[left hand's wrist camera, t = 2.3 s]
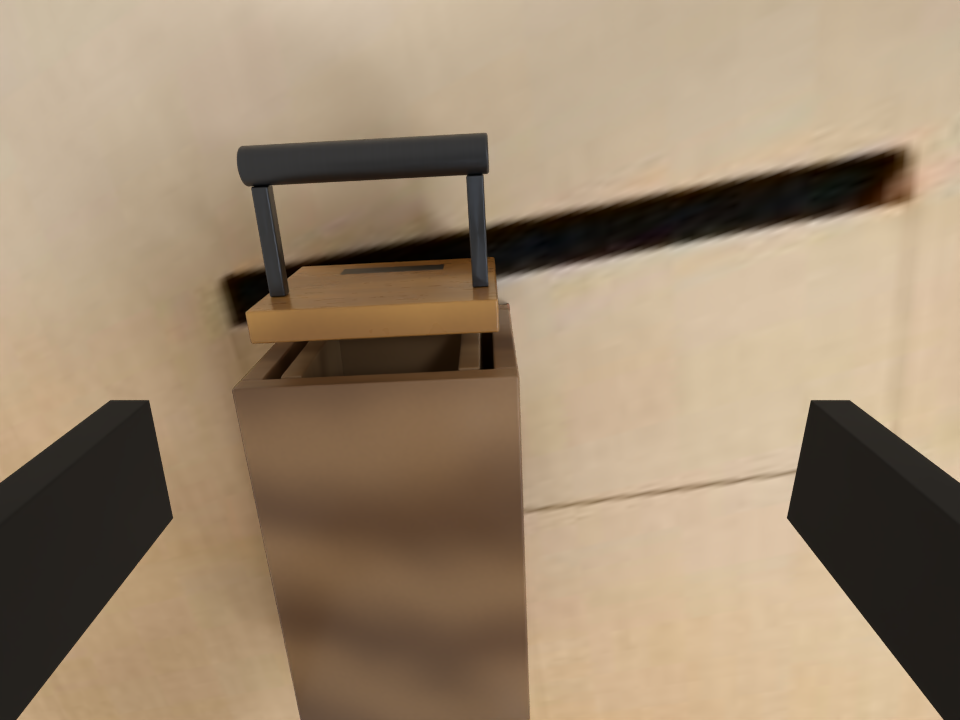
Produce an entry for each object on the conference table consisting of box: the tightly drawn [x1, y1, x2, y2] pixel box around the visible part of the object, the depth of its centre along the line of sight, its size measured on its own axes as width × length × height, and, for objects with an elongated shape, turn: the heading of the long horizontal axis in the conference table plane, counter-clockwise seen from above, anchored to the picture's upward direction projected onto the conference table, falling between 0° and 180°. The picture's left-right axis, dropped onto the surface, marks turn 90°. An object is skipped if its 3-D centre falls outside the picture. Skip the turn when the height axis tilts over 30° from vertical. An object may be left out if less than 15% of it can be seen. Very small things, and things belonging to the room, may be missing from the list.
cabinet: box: [232, 304, 530, 720], centre depth 30 cm, size 22×10×9 cm, turn 3°
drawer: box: [237, 133, 499, 379], centre depth 28 cm, size 26×9×7 cm, turn 3°
